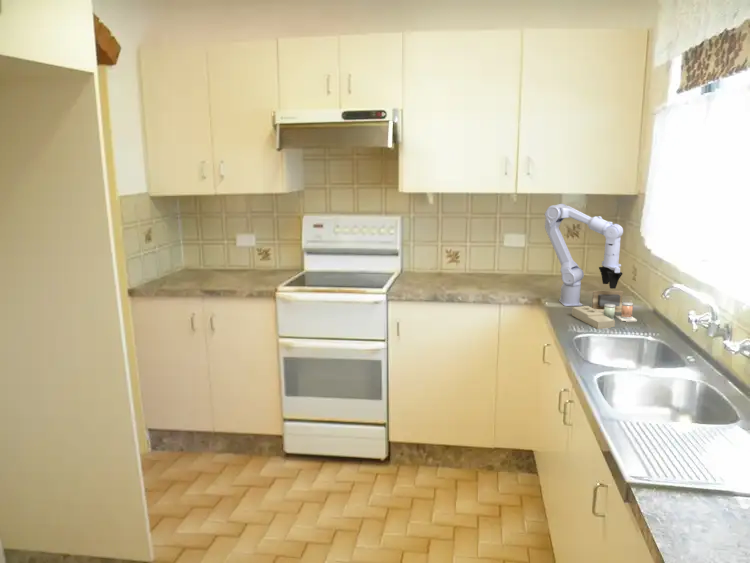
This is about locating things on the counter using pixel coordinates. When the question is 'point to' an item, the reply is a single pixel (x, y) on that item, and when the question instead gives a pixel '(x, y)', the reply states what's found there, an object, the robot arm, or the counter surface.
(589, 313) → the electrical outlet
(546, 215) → the robot arm
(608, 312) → the cylinder
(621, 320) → the pad
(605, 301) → the junction unit
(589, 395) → the counter surface
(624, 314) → the cylinder
